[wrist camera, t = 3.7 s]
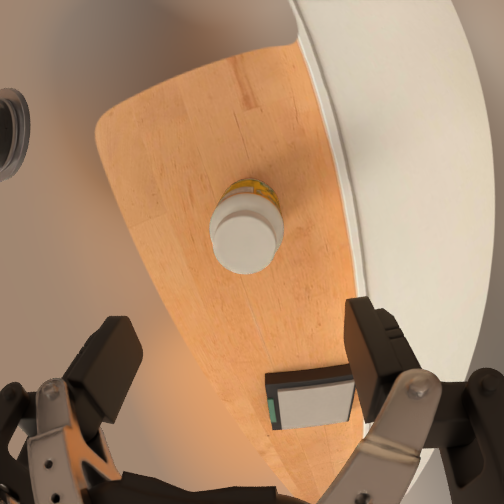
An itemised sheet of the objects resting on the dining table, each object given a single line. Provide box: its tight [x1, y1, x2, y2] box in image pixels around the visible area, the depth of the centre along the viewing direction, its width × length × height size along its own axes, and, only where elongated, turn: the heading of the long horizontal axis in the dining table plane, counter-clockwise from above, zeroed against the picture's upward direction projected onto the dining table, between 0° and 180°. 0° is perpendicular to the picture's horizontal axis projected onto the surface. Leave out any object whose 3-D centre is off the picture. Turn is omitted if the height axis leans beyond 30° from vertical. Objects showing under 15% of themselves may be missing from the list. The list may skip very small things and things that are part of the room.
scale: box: [265, 364, 356, 430], centre depth 36 cm, size 12×12×3 cm
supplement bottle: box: [209, 179, 284, 274], centre depth 22 cm, size 5×5×10 cm
